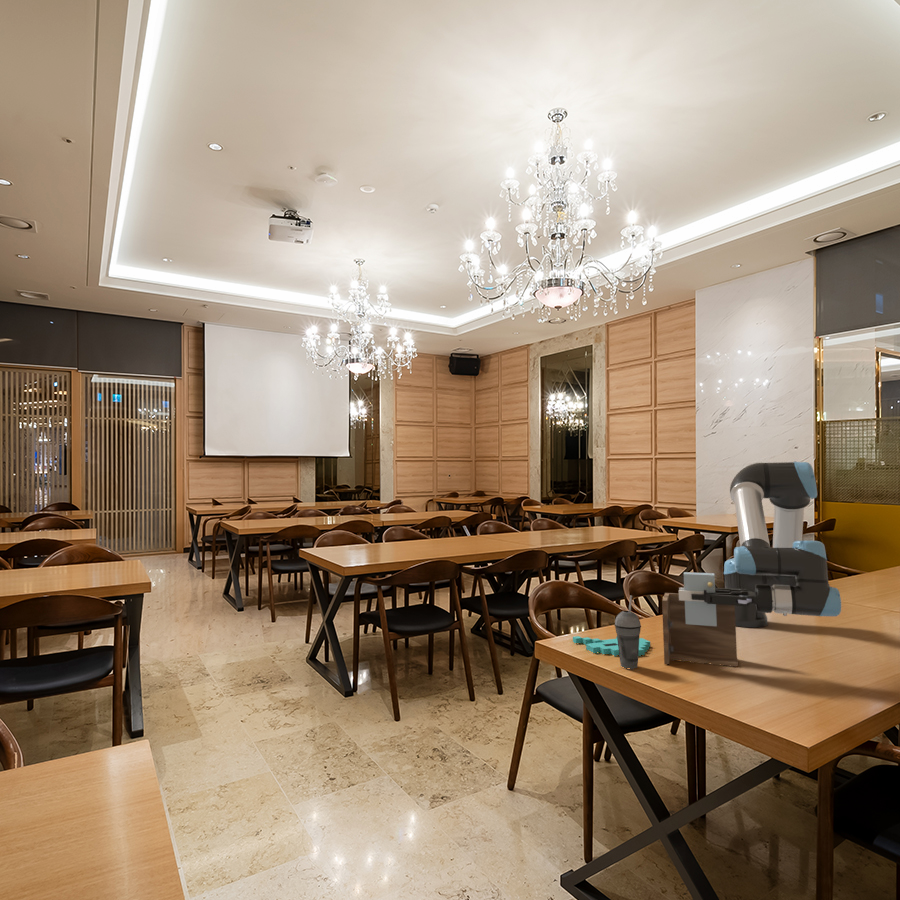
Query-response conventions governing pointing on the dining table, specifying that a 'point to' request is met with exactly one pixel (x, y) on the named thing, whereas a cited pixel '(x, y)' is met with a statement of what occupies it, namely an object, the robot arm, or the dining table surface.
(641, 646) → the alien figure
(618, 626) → the beverage cup
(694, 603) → the door
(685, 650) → the cabinet
